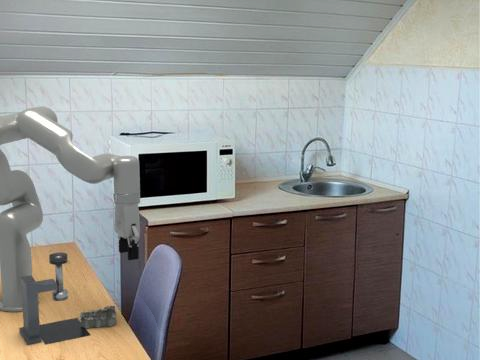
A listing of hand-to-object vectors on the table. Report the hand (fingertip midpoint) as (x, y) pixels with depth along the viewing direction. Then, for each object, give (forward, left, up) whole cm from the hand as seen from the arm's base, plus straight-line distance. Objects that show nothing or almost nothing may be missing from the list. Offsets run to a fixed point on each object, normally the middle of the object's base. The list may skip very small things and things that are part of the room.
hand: (128, 255), depth 203 cm
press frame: (0, -23, -20) cm, 31 cm away
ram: (0, -21, -10) cm, 23 cm away
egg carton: (0, -10, -20) cm, 22 cm away
